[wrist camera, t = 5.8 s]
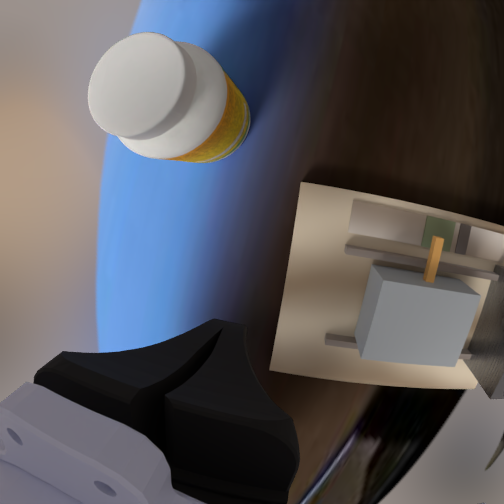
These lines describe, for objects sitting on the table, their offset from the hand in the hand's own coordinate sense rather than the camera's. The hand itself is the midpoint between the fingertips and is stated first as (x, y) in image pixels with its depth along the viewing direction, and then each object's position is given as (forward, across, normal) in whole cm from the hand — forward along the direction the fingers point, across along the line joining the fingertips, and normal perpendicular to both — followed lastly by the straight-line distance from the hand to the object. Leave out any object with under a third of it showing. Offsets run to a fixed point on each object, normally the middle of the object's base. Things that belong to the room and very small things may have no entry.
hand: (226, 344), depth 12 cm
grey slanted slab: (+7, -16, 0) cm, 18 cm away
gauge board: (+9, -10, 0) cm, 13 cm away
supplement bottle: (+9, +4, -9) cm, 13 cm away
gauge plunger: (+7, -9, -1) cm, 12 cm away
